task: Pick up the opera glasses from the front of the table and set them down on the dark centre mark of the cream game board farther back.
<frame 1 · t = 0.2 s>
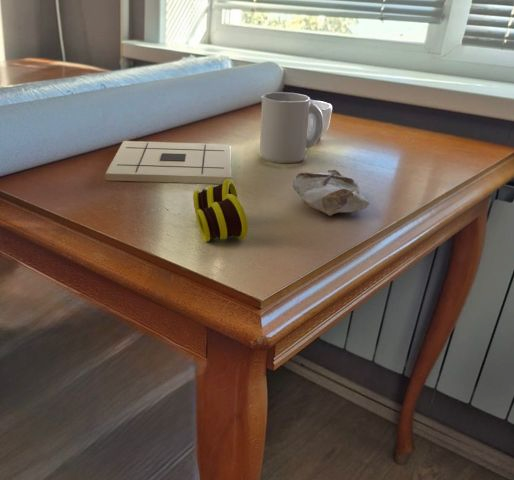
board: (173, 164, 90), on the table
teacup: (307, 139, 106), on the table
cup: (290, 158, 96), on the table
opera glasses: (218, 231, 70), on the table
stone: (327, 204, 79), on the table
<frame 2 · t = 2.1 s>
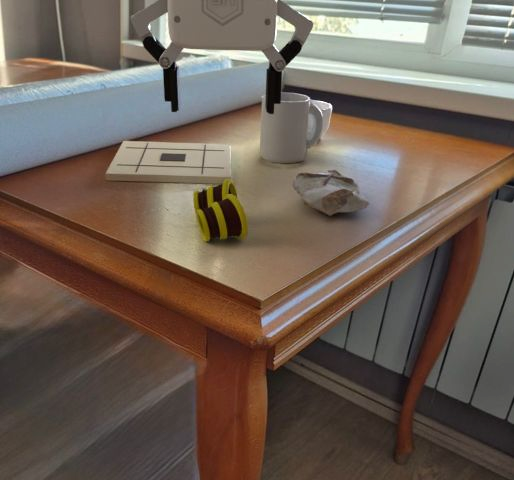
hand: (222, 110, 62), 13 cm above the table, tool pointing down, fingers open, 9 cm apart
nothing on the table moved.
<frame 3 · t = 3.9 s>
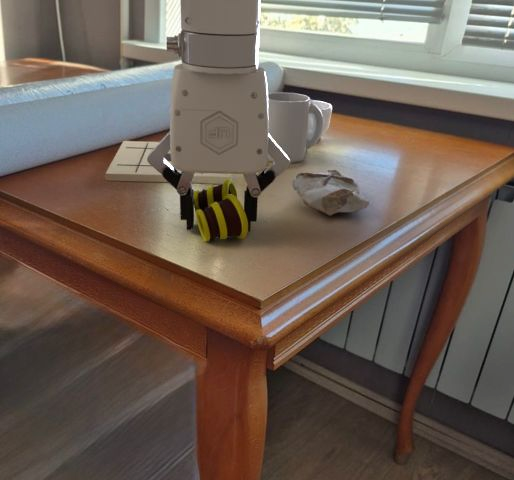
hand: (218, 225, 69), 1 cm above the table, tool pointing down, fingers closed on opera glasses, 5 cm apart
opera glasses: (218, 231, 70), on the table, touching gripper
everything else where it was.
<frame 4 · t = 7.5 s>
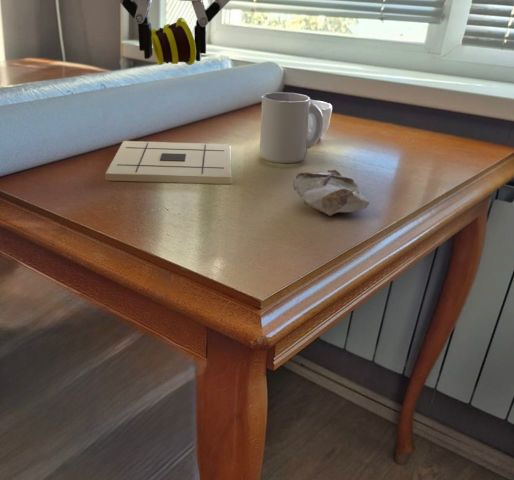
hand: (173, 57, 80), 15 cm above the table, tool pointing down, fingers closed on opera glasses, 5 cm apart
opera glasses: (173, 63, 80), point 14 cm above the table, touching gripper
everything else where it was.
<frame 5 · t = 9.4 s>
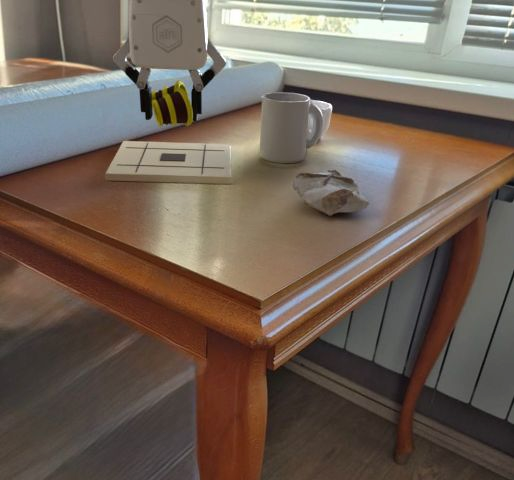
hand: (172, 117, 86), 7 cm above the table, tool pointing down, fingers closed on opera glasses, 5 cm apart
opera glasses: (172, 122, 87), point 6 cm above the table, touching gripper
everything else where it was.
when the fingers open (2 cm above the table, at t = 11.0 s): opera glasses stays where it is, resting on board.
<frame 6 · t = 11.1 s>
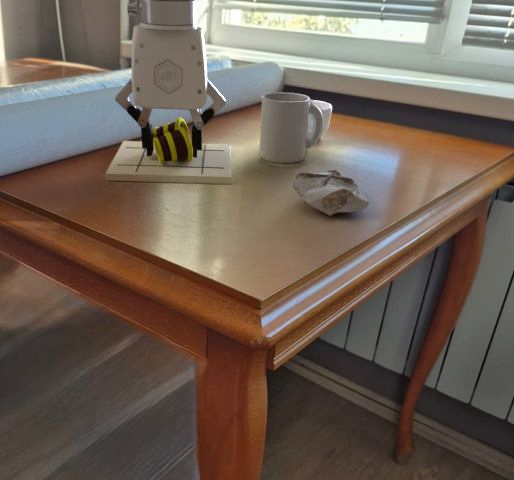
hand: (172, 153, 89), 2 cm above the table, tool pointing down, fingers open, 5 cm apart
opera glasses: (172, 158, 90), point 1 cm above the table, touching board
everything else where it was.
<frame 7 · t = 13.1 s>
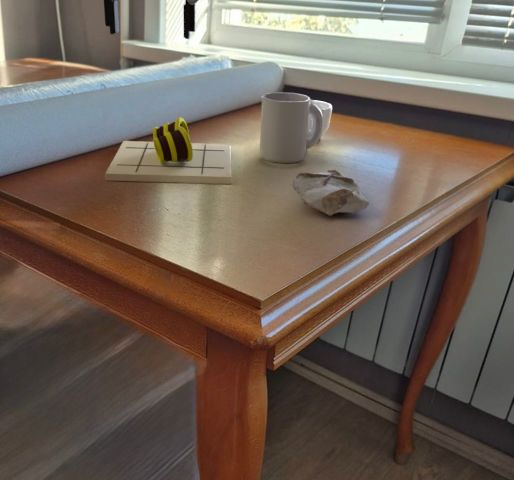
hand: (151, 35, 81), 17 cm above the table, tool pointing down, fingers open, 9 cm apart
nothing on the table moved.
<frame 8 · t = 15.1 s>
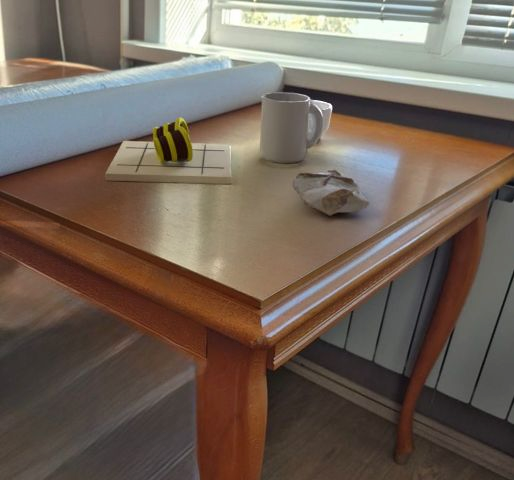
nothing on the table moved.
at the end: opera glasses inside the target area on the board (0.1 cm from its centre), point 0.9 cm above the board's base; opera glasses tilted 0°; the gripper is holding nothing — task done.
